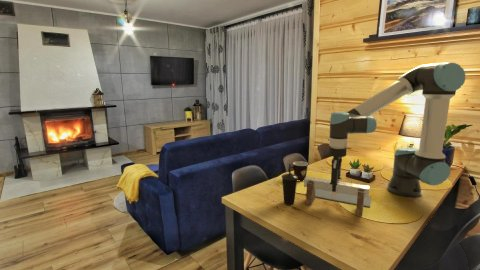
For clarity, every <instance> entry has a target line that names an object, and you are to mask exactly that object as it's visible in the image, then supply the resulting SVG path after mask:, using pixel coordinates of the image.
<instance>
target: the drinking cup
mask: <svg viewBox="0 0 480 270" xmlns="http://www.w3.org/2000/svg"><path fill="white" fill-rule="evenodd" d="M291 167H292V165H291V163H289V164H288V170H289V171H288V172H287V173H284V174H282V175H281V179H282V193H283V203H284V205H286V206H293V205H295V200H296V192H297V183H298V181H297V179H298V176H297V175H294V173H292V174H291V172H292V171H291V169H292V168H291Z"/></svg>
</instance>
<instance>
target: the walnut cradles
mask: <svg viewBox="0 0 480 270" xmlns="http://www.w3.org/2000/svg"><path fill="white" fill-rule="evenodd" d="M305 196H306V197H305V204H306V206H313V203H314V201H316V197H315V189H314V188H313V183H311V182H307V187H306V192H305ZM363 204H364V191H359V190H358V196H357V205H356V208H355V209H356V210H355V212H356V213H355V215H356V216H359V217H363V212H364V206H363Z"/></svg>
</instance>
